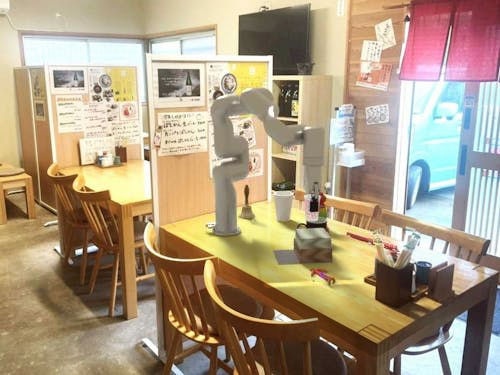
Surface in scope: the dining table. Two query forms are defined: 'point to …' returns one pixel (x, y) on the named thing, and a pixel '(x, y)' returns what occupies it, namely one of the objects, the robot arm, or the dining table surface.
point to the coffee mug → (315, 223)
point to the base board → (289, 257)
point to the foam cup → (283, 205)
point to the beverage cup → (309, 215)
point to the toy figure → (322, 275)
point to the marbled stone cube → (312, 245)
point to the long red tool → (370, 240)
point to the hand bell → (246, 206)
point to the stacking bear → (322, 208)
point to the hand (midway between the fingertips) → (311, 208)
